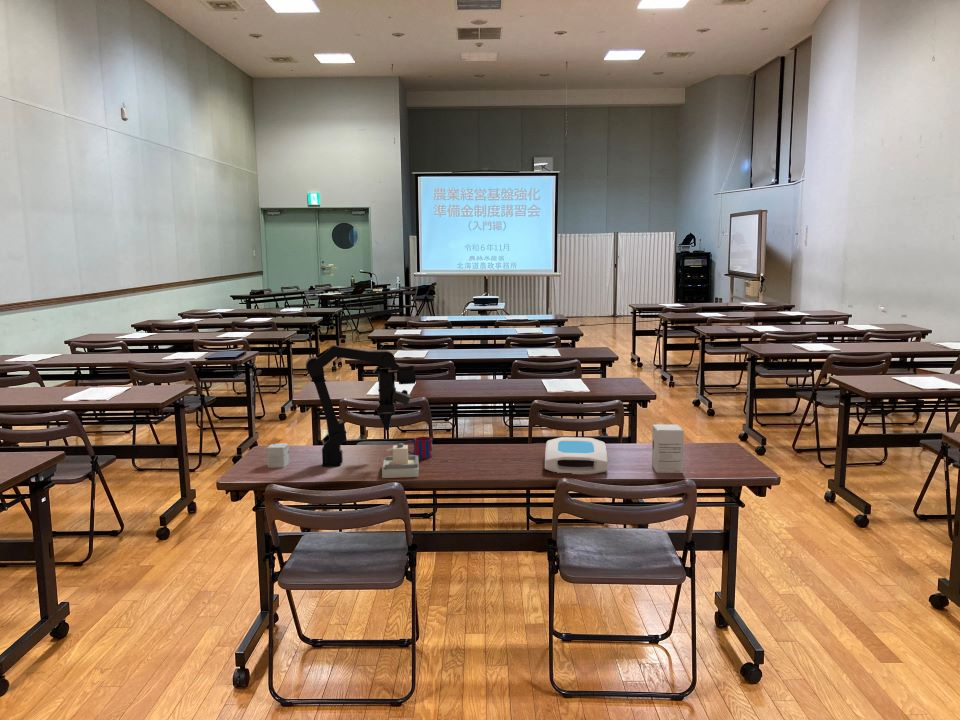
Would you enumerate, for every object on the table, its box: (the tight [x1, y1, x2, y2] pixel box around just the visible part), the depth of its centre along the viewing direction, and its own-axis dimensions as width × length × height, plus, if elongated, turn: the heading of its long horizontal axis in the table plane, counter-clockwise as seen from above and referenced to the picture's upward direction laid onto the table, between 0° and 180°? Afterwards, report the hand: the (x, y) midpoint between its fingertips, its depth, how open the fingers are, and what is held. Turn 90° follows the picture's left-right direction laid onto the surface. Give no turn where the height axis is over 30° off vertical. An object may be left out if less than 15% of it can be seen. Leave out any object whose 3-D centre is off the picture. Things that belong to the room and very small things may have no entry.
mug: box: [404, 436, 433, 460], centre depth 261 cm, size 7×10×7 cm
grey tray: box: [381, 454, 420, 479], centre depth 242 cm, size 12×14×4 cm
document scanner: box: [544, 436, 609, 475], centre depth 250 cm, size 21×28×6 cm
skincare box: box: [266, 442, 290, 469], centre depth 251 cm, size 6×6×7 cm
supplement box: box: [651, 423, 685, 474], centre depth 240 cm, size 9×9×15 cm
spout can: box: [385, 442, 409, 464], centre depth 241 cm, size 8×5×6 cm, turn 94°
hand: (387, 427), depth 256 cm, fingers open, 9 cm apart
